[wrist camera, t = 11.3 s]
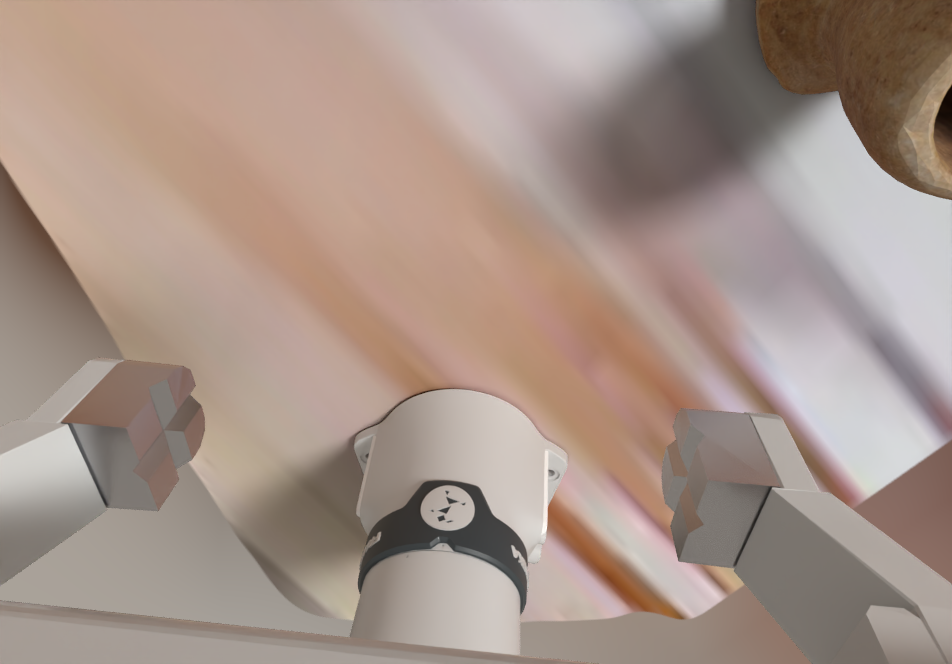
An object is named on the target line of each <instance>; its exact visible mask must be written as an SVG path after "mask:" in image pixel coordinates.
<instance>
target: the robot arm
mask: <svg viewBox="0 0 952 664" xmlns="http://www.w3.org/2000/svg"><path fill="white" fill-rule="evenodd" d="M195 386H196V385H195V382H194V379H193V376H192V373H191V370H190V369H188V368H186V367H184V366H179V365H170V364H161V363H151V362H142V361H133V360H119V359H109V358H100V357H99V358H96V359H92V360H89V361H88V362H87V363H86V364H85V365H84V366H82V367H81V368H80V369H79V371H77V372H76V373H75V374H74V375H73V376H72V377H71V378H70V379H69V380H68V381H67V382H66V383H65V384H63V385H62V386H61V387H60V388H59V389H58V390H57V391H56V392H55V393H54V394H53V395H52V396H51V397H50V398H49V399H48V400H47V401H46V402H44V403H43V404H42V405H41V406H40V407H39V408H38V409H37V410H36V411H35V412H34V413H33V414H32V415H31V416H30V417H29V418H28V419H27V420H14V421H12V422H9V423H7V424H5V425H2V426H0V586H1V585H2V584H4V583H5V582H7V581H8V580H9V579H11V578H12V577H14V576H15V575H16V574H18V573H19V572H21V571H22V570H24V569H25V568H26V567H28V566H29V565H31V564H32V563H33V562H35V561H36V560H38V559H39V558H40V557H42V556H43V555H44V554H46V553H48V552H49V551H50V550H52V549H53V548H55V547H56V546H57V545H59V544H60V543H62V542H63V541H64V540H66V539H67V538H68V537H70V536H72V535H73V534H74V533H76V532H77V531H78V530H80V529H81V528H83V527H84V526H86V525H87V524H88V523H90V522H91V521H93V520H94V519H96V518H97V517H98V516H100V515H101V514H102V513H104V512H105V511H107V508H120V509H134V510H151V511H159V509H160V508H161V506H162V505H163V503H164V502H165V500H166V499H167V497H168V496H169V494H170V493H171V491H172V490H173V488H174V487H175V485H176V484H177V482H178V481H179V477H178V472H177V468H179V467H181V466H182V465H184V464H185V463H187V462H189V461H191V460H192V459H193V458H194V456H195V454H196V453H197V451H198V449H199V448H200V446H201V442H202V439H203V435H204V431H205V417H204V413H203V409H202V406H201V405H200V404H199V403H198V402H197V401H196V400H195V399H194V398H193V397H192V396H191V395H190V394H191V392H192V391H193V389H194V388H195ZM673 429H674V433H675V437H676V440H675V441H674V442H672V443H671V444H670V445H668V446H667V447H666V451H665V455H664V459H663V466H662V489H663V495H664V499H665V503H666V504H667V505H668V506H669V507H670V508H671V509H672V510H673V511H674V512H675V513H674V516H673V519H672V522H671V525H670V527H671V531H672V535H673V540H674V544H675V548H676V553H677V557H678V561H679V562H687V563H695V564H703V565H711V566H719V567H727V568H735V569H734V572H735V573H736V574H737V575H738V577H739V578H740V579H741V580H742V581H743V583H744V584H745V585H746V586H747V587H748V588H749V590H750V591H751V592H752V593H753V594H754V596H755V597H756V598H757V599H758V600H759V601H760V603H761V604H762V605H763V606H764V607H765V609H766V610H767V611H768V612H769V613H770V615H771V616H772V617H773V618H774V619H775V621H776V622H777V623H778V624H779V625H780V626H781V628H782V629H783V630H784V631H785V632H786V634H787V635H788V636H789V637H790V638H791V640H792V641H793V642H794V643H795V644H796V646H797V647H798V648H799V649H800V650H801V651H802V653H803V654H804V655H805V656H806V657H807V659H808V660H809V661H810V662H811V663H812V664H952V584H951V583H949V582H948V581H947V580H945V579H944V578H943V577H941V576H940V575H939V574H937V573H936V572H935V571H933V570H932V569H931V568H929V567H928V566H927V565H925V564H924V563H923V562H921V561H920V560H919V559H917V558H916V557H915V556H913V555H912V554H911V553H909V552H908V551H907V550H905V549H904V548H903V547H901V546H900V545H899V544H897V543H896V542H894V541H893V540H892V539H891V538H889V537H888V536H887V535H885V534H884V533H883V532H881V531H880V530H879V529H877V528H876V527H875V526H873V525H872V524H871V523H869V522H868V521H867V520H865V519H864V518H863V517H861V516H860V515H859V514H857V513H856V512H855V511H853V510H852V509H851V508H849V507H848V506H847V505H845V504H844V503H843V502H841V501H840V500H839V499H837V498H836V497H835V496H834V495H832V494H831V493H826V492H820V491H819V489H818V487H817V485H816V483H815V481H814V479H813V477H812V475H811V474H810V472H809V470H808V468H807V466H806V464H805V462H804V460H803V458H802V456H801V454H800V452H799V450H798V448H797V446H796V444H795V442H794V440H793V439H792V437H791V435H790V433H789V431H788V429H787V427H786V425H785V423H784V421H783V419H782V418H781V417H779V416H778V415H777V414H763V413H747V412H745V413H737V412H724V411H711V410H698V409H686V408H681V409H680V410H679V412H678V413H677V415H676V418H675V421H674V424H673ZM354 450H355V453H356V456H357V458H358V461H359V464H360V466H361V469H362V472H363V474H364V477H363V482H362V486H361V490H360V495H359V499H358V503H357V510H356V514H357V516H358V517H360V519H361V523H362V526H363V528H364V530H365V532H366V533H367V535H368V539H367V543H366V546H365V548H364V551H363V553H362V557H361V561H360V569H359V570H360V573H359V578H358V589H359V592H360V598H359V602H358V606H357V610H356V613H355V617H354V621H353V626H352V629H351V633H350V637H340V636H332V635H331V636H330V635H322V634H313V633H304V632H294V631H284V630H275V629H266V628H256V627H247V626H238V625H229V624H219V623H210V622H200V621H191V620H181V619H171V618H162V617H153V616H144V615H134V614H124V613H115V612H105V611H96V610H87V609H77V608H68V607H57V606H49V605H39V604H29V603H20V602H11V601H1V600H0V664H599V663H588V662H578V661H569V660H560V659H551V658H541V657H531V656H522V655H520V615H521V614H522V612H523V610H524V608H525V605H526V596H527V592H528V589H527V588H528V585H529V572H528V563H532V564H536V563H538V562H539V559H540V555H541V549H542V545H543V544H544V542H545V539H546V529H547V507H548V505H549V503H550V501H551V499H552V497H553V495H554V493H555V491H556V489H557V487H558V485H559V483H560V481H561V479H562V477H563V475H564V473H565V471H566V469H567V464H568V456H567V454H566V452H565V451H563V450H562V449H561V448H559V447H558V446H556V445H555V444H553V443H551V442H550V441H548V440H546V439H545V438H544V437H543V436H542V435H541V434H540V433H539V432H538V430H537V429H536V427H535V426H534V425H533V423H532V422H531V421H530V420H529V419H528V418H527V417H526V416H525V415H524V414H523V413H522V412H521V411H520V410H518V409H517V408H516V407H514V406H512V405H511V404H509V403H507V402H506V401H503V400H501V399H499V398H497V397H494V396H491V395H489V394H485V393H481V392H477V391H471V390H463V389H444V390H436V391H431V392H426V393H423V394H420V395H417V396H415V397H412V398H410V399H408V400H407V401H405V402H403V403H402V404H400V405H399V406H398V407H396V408H395V409H394V410H393V411H392V412H391V413H390V414H389V416H388V417H387V418H386V419H385V420H384V421H383V422H381V423H380V424H378V425H376V426H373V427H370V428H368V429H366V430H364V431H362V432H360V433H359V434H357V436H356V438H355V443H354Z"/></svg>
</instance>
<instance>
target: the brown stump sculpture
mask: <svg viewBox="0 0 952 664" xmlns="http://www.w3.org/2000/svg"><path fill="white" fill-rule="evenodd" d="M756 24H757V30H758V37H759V43H760V47H761V51H762V55H763V59H764V61H765V63H766V66H767V68H768V69H769V70H770V72H771V73H772V74H773V75H774V76H775V77H776V78H777V79H778V81H779V84H780V85H781V86H782V87H783V88H784V89H786V90H788V91H790V92H792V93H797V94H817V93H825V92H832V91H838V92H839V95H840V99H841V102H842V106H843V109H844V112H845V114H846V116H847V118H848V119H849V121H850V123H851V125H852V127H853V128H854V130H855V132H856V133H857V135H858V137H859V138H860V140H861V142H862V144H863V145H864V147H865V149H866V151H867V152H868V154H869V155H870V156H871V157H872V158H873V160H874V161H875V162H876V163H877V164H878V165H879V166H880V167H881V168H882V169H883V170H884V171H885V172H887V173H888V174H889V175H891V176H892V177H893V178H895V179H896V180H897V181H899V182H901V183H903V184H905V185H907V186H908V187H910V188H912V189H915V190H917V191H919V192H923V193H926V194H929V195H933V196H936V197H940V198H945V199H949V200H952V0H756Z"/></svg>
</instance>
